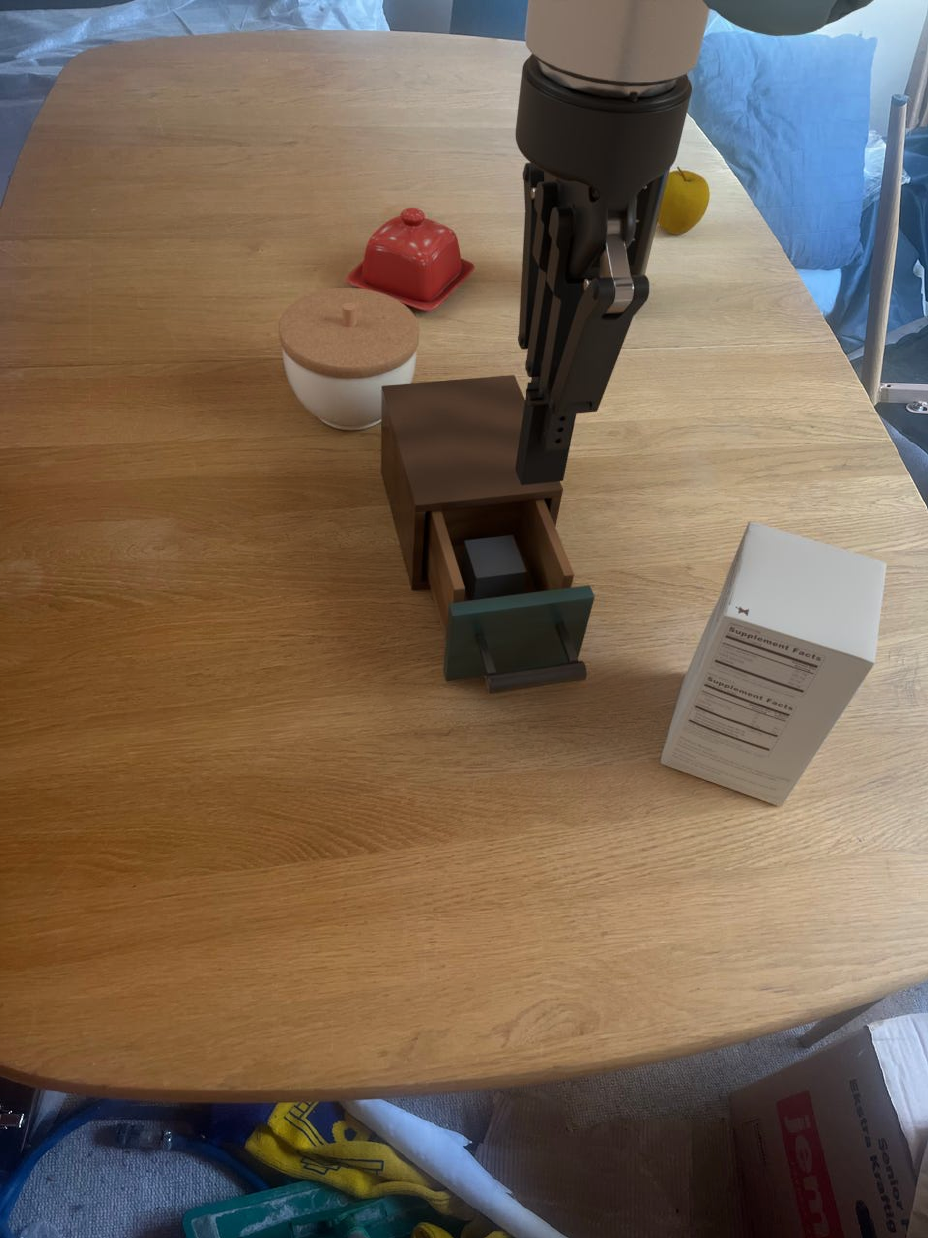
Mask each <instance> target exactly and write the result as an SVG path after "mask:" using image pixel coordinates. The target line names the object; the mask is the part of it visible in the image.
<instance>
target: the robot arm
mask: <svg viewBox="0 0 928 1238" xmlns="http://www.w3.org/2000/svg"><path fill="white" fill-rule="evenodd" d="M873 2H874V0H527V8H526V19H525V25H524V26H525V27H524V34H523V35H524V36H523V38H524V42H525V45H526V48H527V49H528V50H529V52H530V53H531V54H530V55H529V56H528V58H527V59H526V60H525V61H524V63H523V65H522V67H521V68H522V69H521V78H520V87H519V89H520V90H519V95H518V96H519V97H518V105H517V106H518V107H517V116H516V124H515V142H516V145H517V147H518V149H519V151H520V154H521V155H522V156H523V157H524V158H525V159H526V160H527V161H528V162H526V163H525V164H524V166H523V170H522V180H523V196H524V197H523V199H524V222H523V223H524V225H523V243H522V264H521V280H520V281H521V285H520V286H521V287H520V303H519V304H520V306H519V321H518V322H519V324H518V335H517V341H518V346H519V347H520V349H521V350H522V351H523V350H527V353H526V359H525V363H524V364H525V365H524V369H525V371H526V375H527V376H528V378H531V379H530V381H529V382H527V385H526V388H525V397H524V399H525V405H524V412H523V419H522V426H521V432H520V439H519V446H518V453H517V460H516V467H515V470H516V473H517V475H518V478H519V480H520V483H521V485H528V484H537V483H547V482H556V481H560V482H563V481H564V479H565V474H566V468H567V463H568V458H569V453H570V447H571V443H572V438H573V433H574V428H575V423H576V419H577V415H578V414H588V413H596V412H598V410H599V408H600V406H601V403H602V400H603V398H604V395H605V392H606V390H607V387H608V385H609V382H610V379H611V376H612V374H613V371H614V369H615V366H616V364H617V360H618V358H619V356H620V353H621V350H622V348H623V345H624V343H625V340H626V338H627V335H628V331H629V329H630V327H631V324H632V320H633V319H634V317H635V315H637V313H638V312H639V311H640V310H641V308H642V307H643V306H644V305H645V304H646V302H647V301H648V298H649V295H650V280H649V278H648V276H647V275H646V274H645V275H634V276H631V275H630V269H629V263H628V258H627V252H626V249H627V248H628V247H629V245H630V244H631V242H632V240H633V238H634V234H635V229H636V206H637V194H638V193H639V191H640V190H641V189H642V188H643V187H644V186H645V185H647V184H648V183H649V182H651V181H652V180H654V179H655V178H658V177H660V176H661V175H663V174H664V173H665V172H666V171H668V170H669V168H670V169H671V167H672V166H673V165H674V163H675V161H676V159H677V156H678V151H679V148H680V143H681V139H682V136H683V131H684V126H685V123H686V118H687V115H688V110H689V105H690V101H691V98H692V93H693V85H692V82H691V81H690V79H689V75H688V74H689V73H690V72H691V71H692V70H694V69H695V67H696V66H697V64H698V61H699V57H700V53H701V48H702V44H703V40H704V36H705V32H706V28H707V23H708V19H709V16H710V11H711V10H712V11H714V12H716V13H717V14H718V15H719V16H720V17H721V18H723V19H724V20H726V21H727V22H729V23H730V24H733V25H735V26H737V27H739V28H740V29H743V30H746V31H749V32H753V33H756V34H761V35H766V36H771V37H772V36H773V37H786V36H801V35H806V34H810V33H814V32H817V31H818V30H821V29H823V28H824V27H825V26H828V25H829V24H833V23H835V22H839V21H840V20H841V19H843V18H845V17H847V16H848V15H850V14H851V13H853V12H856V11H858V10H861V9H863V8H866V7H868V6H869V5H870V4H872V3H873Z"/></svg>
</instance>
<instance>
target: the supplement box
mask: <svg viewBox="0 0 928 1238" xmlns="http://www.w3.org/2000/svg"><path fill="white" fill-rule="evenodd" d="M887 566H888V563H887V562H886V561H883V560H881V559H878V558H875V557H871V556H869V555H865V554H862V553H859V552H856V551H852V550H848V549H846V548H842V547H838V546H835V545H832V544H828V543H825V542H822V541H818V540H816V539H812V538H808V537H805V536H802V535H799V534H795V533H792V532H789V531H785V530H782V529H780V528H776V527H772V526H768V525H766V524H763V523H758V522H755V521H749V522H748V523H747V525H746V527H745V530H744V532H743V534H742V537H741V539H740V542H739V544H738V546H737V549H736V552H735V554H734V557H733V559H732V561H731V565H730V566H729V569H728V572H727V575H726V577H725V580H724V583H723V587H722V589H721V591H720V593H719V594H720V595H719V597H718V599H717V601H716V603H715V604H714V607H713V609H712V611H711V613H710V614H709V615H710V616H709V618H708V620H707V623H706V624H705V627H704V629H703V632H702V634H701V637H700V640H699V642H698V644H697V647H696V649H695V652H694V654H693V656H692V658H691V661H690V663H689V666H688V668H687V671H686V672H685V674H684V676H683V680H682V683H681V686H680V689H679V693H678V697H677V701H676V704H675V708H674V710H673V714H672V717H671V721H670V724H669V728H668V731H667V735H666V739H665V743H664V745H663V750H662V754H661V757H660V764H661V765H664V766H666V767H669V768H671V769H674V770H677V771H680V772H682V773H686V774H688V775H691V776H694V777H696V778H700V779H702V780H704V781H707V782H711V783H713V784H715V785H719V786H721V787H724V788H728V789H730V790H733V791H735V792H738V793H741V794H744V795H746V796H749V797H752V798H755V799H757V800H760V801H764V802H765V803H769V804H771V805H774V806H777V807H783V806H784V804H785V803H786V801H787V799H788V798H789V796H790V795H791V794H792V792H793V790H794V789H795V787H796V786H797V784H798V783H799V781H800V780H801V778H802V777H803V775H804V774H805V772H806V770H807V769H808V767H809V766H810V764H811V762H812V761H813V759H814V758H815V756H816V755H817V753H818V752H819V751H820V749H821V747H822V746H823V744H824V743H825V741H826V739H827V738H828V736H829V735H830V734H831V732H832V731H833V729H834V727H835V726H836V725H837V723H838V721H839V720H840V718H841V717H842V715H843V714H844V712H845V710H846V709H847V707H848V706H849V705H850V703H851V701H852V700H853V699H854V697H855V695H856V694H857V692H858V690H859V689H860V688H861V686H862V684H863V683H864V681H866V678H867V676H869V674H870V672H871V671H872V669H873V668H874V666H875V664H876V657H877V649H878V639H879V631H880V621H881V614H882V613H881V612H882V605H883V599H884V590H885V583H886V582H885V581H886V574H887V573H886V572H887Z"/></svg>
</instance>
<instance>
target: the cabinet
mask: <svg viewBox="0 0 928 1238" xmlns="http://www.w3.org/2000/svg"><path fill="white" fill-rule="evenodd" d="M381 393H382V394H381V422H380V474H381V478H382V481H383V486H384V490H385V493H386V497H387V501H388V505H389V510H390V513H391V515H392V521H393V525H394V528H395V531H396V537H397V539H398V543H399V547H400V551H401V554H402V555H401V556H402V558H403V563H404V566H405V571H406V574H407V578H408V582H409V585H410V590H412V591H415V590H423V589H431V588H430V585H429V581H428V578H427V574H426V570H425V567H424V563H423V543H424V526H425V512H426V511H435V510H445V509H454V508H463V507H472V506H481V505H490V504H500V503H509V502H518V501H527V500H536V499H544V501H545V503H546V505H547V508H548V510H549V513H550V515H551V518H552V520H553V523H554V525H555V528H556V527H557V522H558V516H559V512H560V511H559V510H560V507H561V502H562V498H563V494H564V493H563V492H564V487H563V485H562V483H561V481H556V482H547V483H537V484H528V485H521V483H520V480H519V478H518V475H517V473H516V470H515V467H516V460H517V453H518V446H519V439H520V432H521V426H522V419H523V412H524V405H525V396H524V394H523V392H522V390H521V387H520V385H519V382H518V380H517V377H516V376H515V374H510V375H498V376H485V377H474V378H462V379H449V380H436V381H423V382H411V383H410V384H398V385H386V386H382V387H381Z"/></svg>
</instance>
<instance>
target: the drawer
mask: <svg viewBox="0 0 928 1238" xmlns="http://www.w3.org/2000/svg"><path fill="white" fill-rule="evenodd" d="M507 535H513V536H514V539H515V541H516V544H517V547H518V549H519V552H520V555H521V558H522V560H523V563H524V566H525V568H526V571H527V572H526V578H525V584H524V589H523V594H517V595H509V596H501V597H494V598H486V599H478V600H471V601H468V598H467V595H466V591H465V587H464V584H463V580H462V577H461V565H462V555H463V546H464V541H465V540H474V539H482V538H490V537H499V536H507ZM423 563H424V567H425V570H426V574H427V578H428V581H429V585H430V588H429V589H430V592H431V596H432V600H433V602H434V606H435V610H436V613H437V614H436V615H437V618H438V621H439V624H440V628H441V632H442V636H443V639H444V642H445V643H444V653H443V665H442V672H443V677H444V680H445V682H446V683H449V682H456V681H462V680H469V679H470V680H471V679H475V678H484V677H485V678H484V682H485V683H484V685H485V689H486V692H487V693H488V695H497V694H503V693H510V692H517V691H522V690H523V691H524V690H530V689H536V688H543V687H551V686H557V685H563V684H564V685H565V684H569V683H576V682H583V681H586V680H587V678H588V669H587V665H586V663H585V662H584V661H583V660H579V657H580V654H581V650H582V647H583V642H584V639H585V635H586V631H587V628H588V623H589V620H590V617H591V613H592V610H593V609H592V608H593V605H594V601H595V593H594V592H593V589H592V586H591V585H589V584H587V585H579V586H573V582H574V577H575V572H574V570H573V567H572V564H571V562H570V560H569V557H568V555H567V553H566V550H565V548H564V544H563V542H562V540H561V538H560V535H559V533H558V530H557V528H556V527H555V525H554V523H553V520H552V518H551V515H550V513H549V510H548V508H547V505H546V503H545V501H544V499H536V500H527V501H518V502H509V503H500V504H490V505H481V506H472V507H463V508H454V509H445V510H435V511H426V512H425V526H424V543H423Z"/></svg>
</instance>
